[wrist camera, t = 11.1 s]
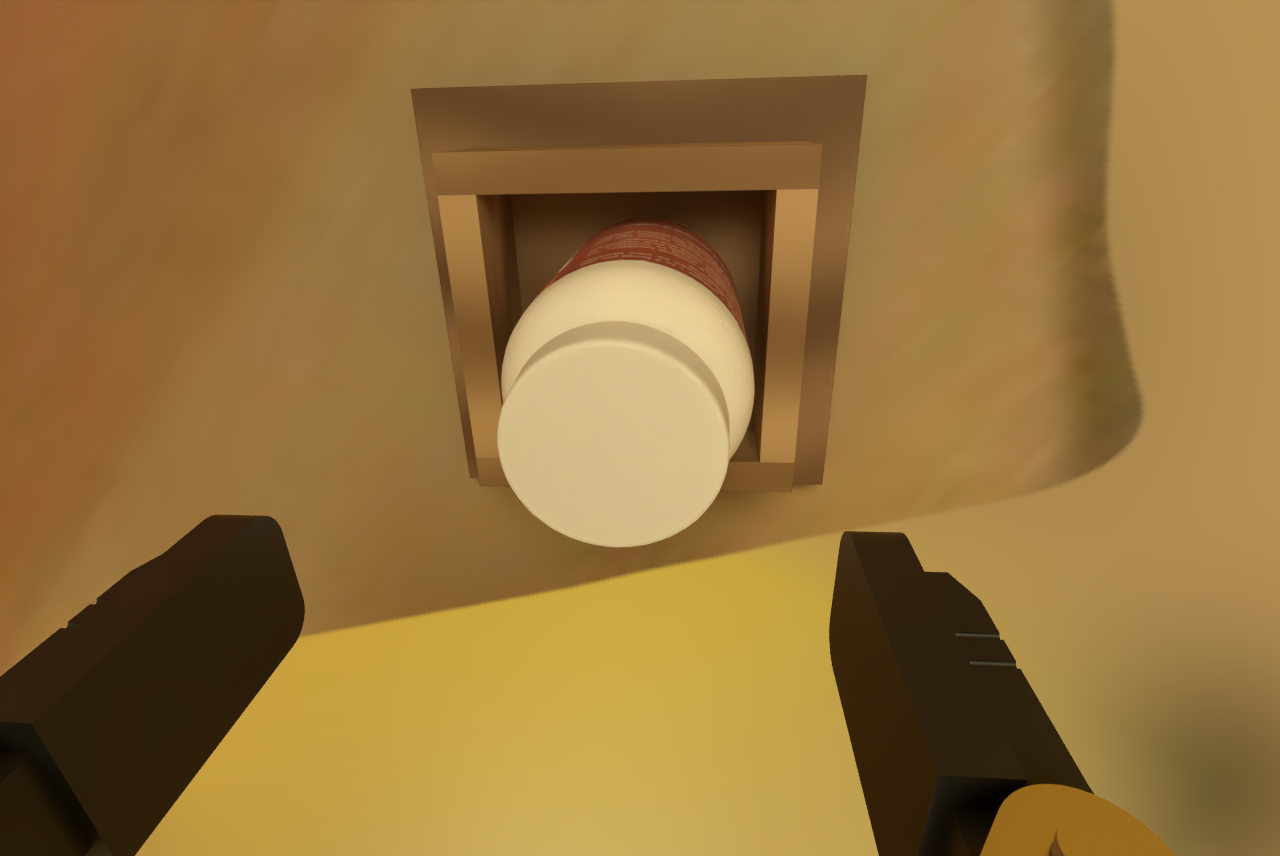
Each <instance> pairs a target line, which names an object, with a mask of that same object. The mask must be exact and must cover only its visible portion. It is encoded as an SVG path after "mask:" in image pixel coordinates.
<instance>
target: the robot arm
mask: <svg viewBox="0 0 1280 856" xmlns="http://www.w3.org/2000/svg"><path fill="white" fill-rule="evenodd" d="M304 614H305V606H304V600H303V596H302V593H301V589H300V586H299V583H298V580H297V577H296V574H295V571H294V567H293V564H292V561H291V558H290V555H289V552H288V548H287V545H286V542H285V539H284V536H283V533H282V530H281V527H280V526H279V524H278V522H277V521H276V520H275V519H273V518H272V517H269V516H250V515H213V516H210V517H208V518H206V519H205V520H203V521H202V522H201V523H200V524H199V525H197V526H196V527H195V528H194V529H193V530H191V531H190V532H189V533H188V534H186V535H185V536H184V537H183V538H182V539H180V540H179V541H178V542H177V543H176V544H174V545H173V546H172V547H171V548H170V549H168V550H167V551H166V552H165V553H163V554H162V555H160V556H158V557H156V558H154V559H153V560H151V561H149V562H147V563H145V564H143V565H141V566H140V567H138V568H136V569H134V570H132V571H130V572H129V573H128V574H127V575H125V576H124V577H123V578H122V579H120V580H119V581H118V582H117V583H116V584H114V585H113V586H112V587H111V588H109V589H108V590H107V591H106V592H104V593H103V594H102V595H101V596H100V597H98V598H97V602H96V604H95V605H93V604H90V605H88V606H87V607H86V608H85V609H83V610H82V611H81V612H80V613H79V614H77V615H76V616H75V617H74V618H72V619H71V620H70V621H69V622H68V626H67V628H60V629H59V630H58V631H56V632H55V633H54V634H53V635H51V636H50V637H49V638H48V639H46V640H45V641H44V642H43V643H41V644H40V645H39V646H38V647H37V648H35V649H34V650H33V651H32V652H30V653H29V654H28V655H27V656H25V657H24V658H23V659H22V660H20V661H19V662H18V663H17V664H16V665H14V666H13V667H12V668H11V669H9V670H8V671H7V672H6V673H4V674H3V675H2V676H1V677H0V856H135V855H136V853H137V852H138V851H139V849H140V848H141V847H142V845H143V844H144V843H145V841H146V840H147V839H148V837H149V836H150V835H151V833H152V832H153V831H154V829H155V828H156V827H157V825H158V824H159V823H160V821H161V820H162V819H163V817H164V816H165V815H166V813H167V812H168V811H169V809H170V808H171V807H172V806H173V804H174V803H175V802H176V800H177V799H178V798H179V796H180V795H181V794H182V792H183V791H184V790H185V788H186V787H187V786H188V784H189V783H190V782H191V780H192V779H193V778H194V777H195V775H196V774H197V773H198V771H199V770H200V769H201V767H202V766H203V765H204V763H205V762H206V761H207V759H208V758H209V757H210V755H211V754H212V753H213V751H214V750H215V749H216V747H217V746H218V745H219V743H220V742H221V741H222V739H223V738H224V737H225V736H226V734H227V733H228V732H229V730H230V729H231V727H232V726H233V725H234V724H235V722H236V721H237V720H238V718H239V717H240V716H241V714H242V713H243V712H244V710H245V709H246V708H247V706H248V705H249V704H250V702H251V701H252V700H253V698H254V697H255V696H256V694H257V693H258V692H259V691H260V689H261V688H262V687H263V685H264V684H265V683H266V681H267V680H268V678H269V677H270V676H271V675H272V673H273V672H274V670H275V669H276V668H277V667H278V665H279V664H280V663H281V661H282V660H283V659H284V658H285V656H286V655H287V653H288V652H289V651H290V650H291V648H292V647H293V645H294V644H295V643H296V641H297V639H298V637H299V635H300V632H301V629H302V626H303V621H304ZM829 628H830V629H829V639H830V640H829V641H830V654H831V661H832V666H833V671H834V675H835V679H836V683H837V687H838V691H839V696H840V699H841V704H842V708H843V711H844V716H845V720H846V724H847V728H848V732H849V736H850V740H851V744H852V748H853V752H854V756H855V761H856V765H857V769H858V773H859V777H860V781H861V785H862V789H863V793H864V797H865V801H866V805H867V809H868V813H869V817H870V821H871V825H872V829H873V833H874V838H875V842H876V846H877V850H878V853H879V856H1176V855H1175V854H1174V853H1173V851H1172V850H1171V849H1170V848H1169V847H1168V846H1167V845H1166V844H1165V843H1164V842H1163V841H1162V840H1161V839H1160V838H1159V837H1158V836H1157V835H1156V834H1155V833H1154V832H1152V831H1151V830H1150V829H1149V828H1148V827H1147V826H1146V825H1144V824H1143V823H1142V822H1140V821H1139V820H1138V819H1136V818H1135V817H1133V816H1132V815H1130V814H1129V813H1128V812H1126V811H1125V810H1123V809H1121V808H1120V807H1118V806H1116V805H1114V804H1113V803H1111V802H1109V801H1107V800H1105V799H1103V798H1100V797H1098V796H1096V795H1094V793H1093V792H1092V790H1091V789H1090V787H1089V786H1088V784H1087V782H1086V781H1085V779H1084V777H1083V776H1082V774H1081V772H1080V770H1079V768H1078V767H1077V765H1076V763H1075V762H1074V760H1073V758H1072V756H1071V755H1070V753H1069V751H1068V750H1067V748H1066V746H1065V744H1064V743H1063V741H1062V739H1061V738H1060V736H1059V734H1058V732H1057V731H1056V729H1055V727H1054V726H1053V724H1052V722H1051V721H1050V719H1049V717H1048V716H1047V714H1046V712H1045V710H1044V708H1043V707H1042V705H1041V703H1040V702H1039V700H1038V698H1037V696H1036V695H1035V693H1034V691H1033V690H1032V688H1031V686H1030V684H1029V683H1028V681H1027V679H1026V678H1025V676H1024V674H1023V673H1022V671H1021V669H1017V667H1016V661H1015V659H1014V657H1013V655H1012V654H1011V652H1010V650H1009V649H1008V647H1007V645H1006V643H1005V642H1004V640H1000V637H999V631H998V630H997V628H996V626H995V624H994V623H993V621H992V619H991V618H990V616H989V614H988V612H987V611H986V609H985V607H984V606H983V604H982V602H981V601H980V600H979V599H978V598H977V597H976V596H975V595H974V594H972V593H971V592H970V591H969V590H968V589H966V588H965V587H964V586H963V585H962V584H961V583H959V582H958V581H957V580H956V579H955V578H954V577H952V576H951V575H950V574H949V573H946V572H924V570H923V568H922V566H921V564H920V562H919V560H918V558H917V556H916V554H915V552H914V550H913V548H912V546H911V544H910V542H909V540H908V538H907V537H906V535H905V534H903V533H895V532H853V531H845V532H844V533H843V535H842V538H841V542H840V547H839V555H838V562H837V570H836V578H835V586H834V593H833V600H832V608H831V615H830V627H829Z"/></svg>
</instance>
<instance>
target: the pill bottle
mask: <svg viewBox="0 0 1280 856" xmlns="http://www.w3.org/2000/svg"><path fill="white" fill-rule="evenodd" d="M501 386H502V398H503V406H502V408H501V412H500V416H499V422H498V430H497V446H498V452H499V458H500V462H501V466H502V469H503V471H504V474H505V476H506V479H507V481H508V483H509V484H510V486H511V488H512V489H513V491H514V493H515V494H516V496H517V497H518V498H519V500H520V501H521V502H522V503H523V504H524V505H525V506H526V508H527V509H528V510H529V511H530V512H531V513H532V514H533V515H534V516H536V517H537V518H538V519H540V520H541V521H542V522H544V523H545V524H546V525H548V526H549V527H551V528H552V529H554V530H556V531H557V532H560V533H562V534H564V535H566V536H568V537H570V538H573V539H576V540H579V541H582V542H585V543H589V544H593V545H599V546H606V547H633V546H640V545H646V544H650V543H654V542H657V541H660V540H663V539H666V538H668V537H671V536H673V535H675V534H677V533H678V532H680V531H682V530H684V529H686V528H687V527H688V526H690V525H691V524H692V523H694V522H695V521H696V520H697V519H698V518H699V517H700V516H701V515H702V514H703V513H704V512H705V511H706V510H707V509H708V507H709V506H710V505H711V504H712V502H713V501H714V499H715V498H716V496H717V494H718V493H719V491H720V489H721V486H722V484H723V481H724V479H725V476H726V473H727V468H728V463H729V460H730V459H731V457H732V456H733V455H734V453H735V452H736V450H737V449H738V447H739V445H740V443H741V441H742V440H743V438H744V435H745V433H746V430H747V428H748V425H749V421H750V418H751V414H752V409H753V404H754V393H755V390H754V372H753V363H752V358H751V354H750V350H749V345H748V341H747V337H746V333H745V329H744V324H743V320H742V315H741V311H740V306H739V301H738V296H737V291H736V287H735V283H734V281H733V278H732V275H731V273H730V271H729V269H728V267H727V265H726V263H725V261H724V260H723V258H722V257H721V255H720V254H719V252H718V251H717V250H716V249H715V248H714V246H713V245H712V244H711V243H710V242H709V241H708V240H707V239H705V238H704V237H703V236H702V235H700V234H699V233H698V232H696V231H695V230H693V229H691V228H690V227H688V226H685V225H683V224H681V223H678V222H676V221H673V220H669V219H665V218H659V217H635V218H630V219H625V220H622V221H619V222H616V223H613V224H611V225H609V226H607V227H605V228H603V229H601V230H600V231H598V232H596V233H595V234H594V235H592V236H591V237H590V238H589V239H587V240H586V241H585V242H584V243H583V244H582V245H581V246H580V247H579V248H578V249H577V250H576V252H575V253H574V254H573V255H572V256H571V257H570V259H569V260H568V261H567V262H566V263H565V265H564V266H563V267H562V268H561V269H560V270H559V271H558V273H557V274H556V275H555V276H554V277H553V279H552V280H551V281H550V282H549V283H548V285H547V286H546V287H545V288H544V289H543V290H542V291H541V292H540V294H539V295H538V296H537V297H536V298H535V299H534V301H533V302H532V303H531V304H530V305H529V307H528V308H527V309H526V311H525V312H524V313H523V315H522V316H521V318H520V320H519V321H518V323H517V324H516V326H515V328H514V330H513V332H512V334H511V336H510V339H509V341H508V344H507V347H506V351H505V355H504V360H503V364H502V375H501Z"/></svg>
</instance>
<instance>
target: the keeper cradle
mask: <svg viewBox="0 0 1280 856" xmlns="http://www.w3.org/2000/svg"><path fill="white" fill-rule="evenodd" d="M866 81H867V75H844V76H811V77H779V78H746V79H714V80H681V81H648V82H616V83H583V84H551V85H518V86H485V87H453V88H420V89H411V95H412V101H413V108H414V114H415V121H416V127H417V134H418V140H419V147H420V153H421V160H422V166H423V173H424V179H425V186H426V192H427V199H428V205H429V212H430V219H431V225H432V232H433V238H434V245H435V251H436V258H437V264H438V271H439V277H440V284H441V290H442V297H443V303H444V310H445V316H446V323H447V330H448V336H449V343H450V349H451V356H452V362H453V369H454V375H455V382H456V388H457V395H458V401H459V408H460V414H461V421H462V427H463V434H464V440H465V447H466V454H467V460H468V467H469V473H470V478H479V482H480V486H510V484H509V483H508V481H507V479H506V476H505V474H504V471H503V469H502V466H501V462H500V458H499V452H498V446H497V430H498V422H499V416H500V412H501V408H502V406H503V398H502V386H501V375H502V364H503V360H504V355H505V351H506V347H507V344H508V341H509V339H510V336H511V334H512V332H513V330H514V328H515V326H516V324H517V323H518V321H519V320H520V318H521V316H522V315H523V313H524V312H525V311H526V309H527V308H528V307H529V305H530V304H531V303H532V302H533V301H534V299H535V298H536V297H537V296H538V295H539V294H540V292H541V291H542V290H543V289H544V288H545V287H546V286H547V285H548V283H549V282H550V281H551V280H552V279H553V277H554V276H555V275H556V274H557V273H558V271H559V270H560V269H561V268H562V267H563V266H564V265H565V263H566V262H567V261H568V260H569V259H570V257H571V256H572V255H573V254H574V253H575V252H576V250H577V249H578V248H579V247H580V246H581V245H582V244H583V243H584V242H585V241H586V240H587V239H589V238H590V237H591V236H592V235H594V234H595V233H596V232H598V231H600V230H601V229H603V228H605V227H607V226H609V225H611V224H613V223H616V222H619V221H622V220H625V219H630V218H635V217H659V218H665V219H669V220H673V221H676V222H678V223H681V224H683V225H685V226H688V227H690V228H691V229H693V230H695V231H696V232H698V233H699V234H700V235H702V236H703V237H704V238H705V239H707V240H708V241H709V242H710V243H711V244H712V245H713V246H714V248H715V249H716V250H717V251H718V252H719V254H720V255H721V257H722V258H723V260H724V261H725V263H726V265H727V267H728V269H729V271H730V273H731V275H732V278H733V281H734V283H735V287H736V291H737V296H738V301H739V306H740V311H741V315H742V320H743V324H744V329H745V333H746V337H747V341H748V345H749V350H750V354H751V358H752V363H753V372H754V390H755V393H754V404H753V409H752V414H751V418H750V421H749V425H748V428H747V430H746V433H745V435H744V438H743V440H742V441H741V443H740V445H739V447H738V449H737V450H736V452H735V453H734V455H733V456H732V457H731V459H730V460H729V463H728V468H727V473H726V476H725V479H724V481H723V484H722V486H721V489H720V491H753V492H792V485H793V484H820V485H822V481H823V472H824V462H825V453H826V444H827V435H828V426H829V417H830V408H831V399H832V390H833V381H834V372H835V363H836V354H837V344H838V335H839V326H840V317H841V308H842V299H843V290H844V281H845V272H846V263H847V254H848V245H849V236H850V227H851V217H852V208H853V199H854V190H855V181H856V172H857V163H858V154H859V145H860V136H861V127H862V118H863V109H864V99H865V90H866Z"/></svg>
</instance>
